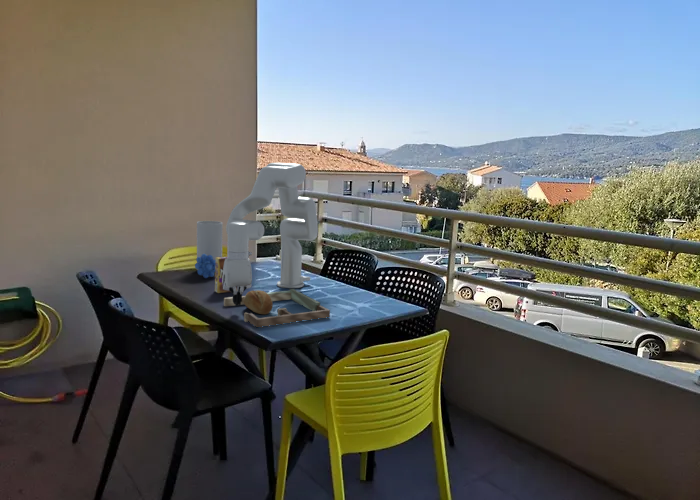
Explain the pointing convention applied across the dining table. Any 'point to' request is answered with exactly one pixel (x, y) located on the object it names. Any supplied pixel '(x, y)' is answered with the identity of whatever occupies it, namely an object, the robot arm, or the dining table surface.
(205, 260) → the grapes
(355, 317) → the dining table surface
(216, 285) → the candy box
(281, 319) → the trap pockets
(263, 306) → the bread roll
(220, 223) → the cylinder vase
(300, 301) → the frame
